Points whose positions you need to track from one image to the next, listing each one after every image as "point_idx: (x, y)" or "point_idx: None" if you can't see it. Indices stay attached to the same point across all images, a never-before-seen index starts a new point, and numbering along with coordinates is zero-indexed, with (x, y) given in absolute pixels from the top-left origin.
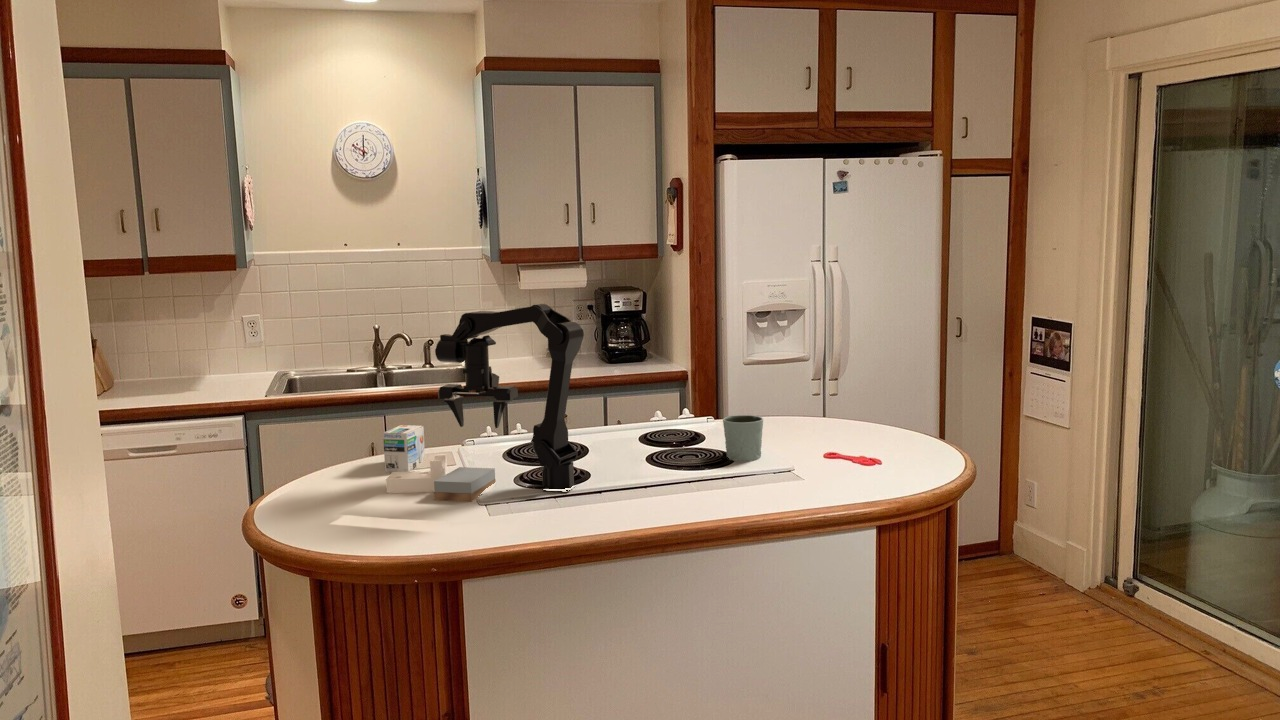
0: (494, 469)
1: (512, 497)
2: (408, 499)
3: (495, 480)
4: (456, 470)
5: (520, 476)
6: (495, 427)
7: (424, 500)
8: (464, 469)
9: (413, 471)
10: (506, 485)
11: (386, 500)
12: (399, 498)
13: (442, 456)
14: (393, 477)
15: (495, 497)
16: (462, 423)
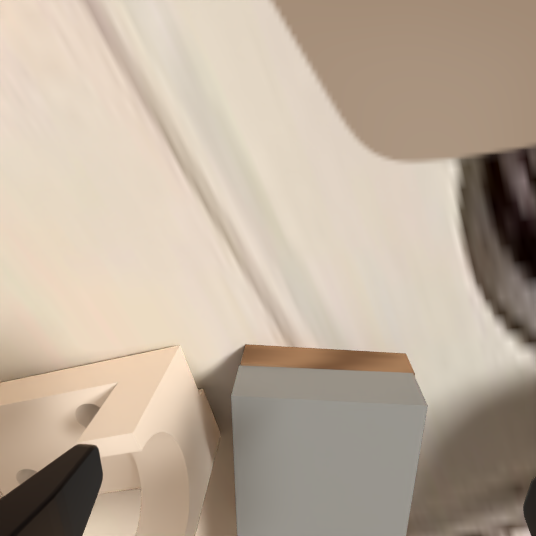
0: (425, 405)
1: (514, 480)
2: None
3: (412, 369)
4: (247, 453)
5: (486, 168)
6: (528, 520)
7: (216, 523)
8: (277, 434)
9: (27, 401)
10: (450, 336)
11: (101, 528)
12: (126, 510)
13: (128, 448)
14: (17, 484)
15: (448, 484)
16: (82, 492)
